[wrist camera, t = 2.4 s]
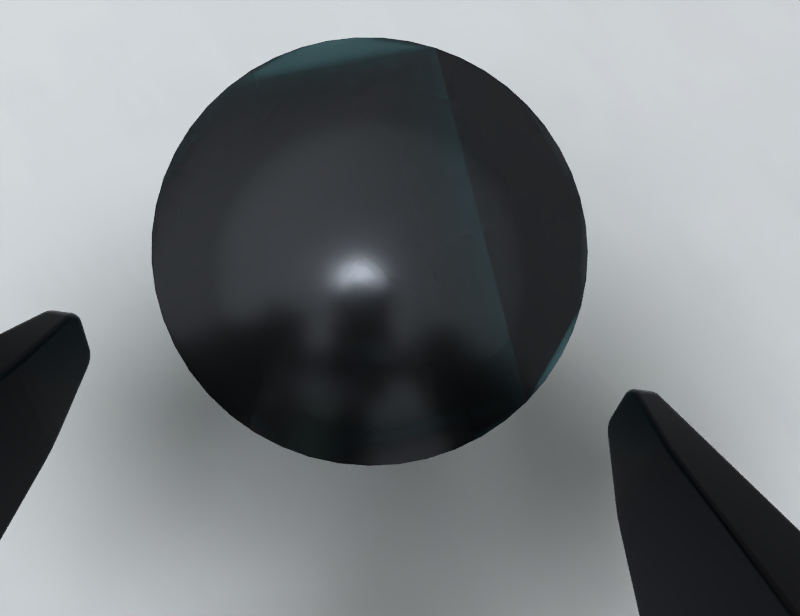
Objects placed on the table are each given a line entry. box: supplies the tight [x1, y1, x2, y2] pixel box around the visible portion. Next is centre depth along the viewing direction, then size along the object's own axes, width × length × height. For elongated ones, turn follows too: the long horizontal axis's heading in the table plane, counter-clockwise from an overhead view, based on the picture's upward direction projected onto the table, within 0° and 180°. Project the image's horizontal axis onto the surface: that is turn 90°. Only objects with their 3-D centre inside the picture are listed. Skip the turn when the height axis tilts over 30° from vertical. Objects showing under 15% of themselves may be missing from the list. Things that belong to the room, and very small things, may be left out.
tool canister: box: [152, 38, 588, 466], centre depth 12 cm, size 5×5×12 cm
